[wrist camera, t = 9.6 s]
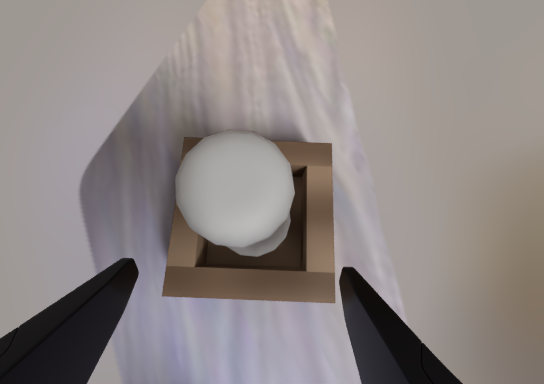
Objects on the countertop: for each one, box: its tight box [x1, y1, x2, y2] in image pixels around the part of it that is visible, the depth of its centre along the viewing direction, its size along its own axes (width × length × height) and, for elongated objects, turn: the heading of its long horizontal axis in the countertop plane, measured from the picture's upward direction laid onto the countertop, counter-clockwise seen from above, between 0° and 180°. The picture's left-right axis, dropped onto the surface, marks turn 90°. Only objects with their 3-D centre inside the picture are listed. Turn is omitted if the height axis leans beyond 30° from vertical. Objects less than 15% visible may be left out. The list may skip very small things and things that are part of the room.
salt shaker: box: [175, 130, 295, 257], centre depth 14 cm, size 6×6×13 cm
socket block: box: [162, 137, 335, 303], centre depth 19 cm, size 12×12×4 cm
